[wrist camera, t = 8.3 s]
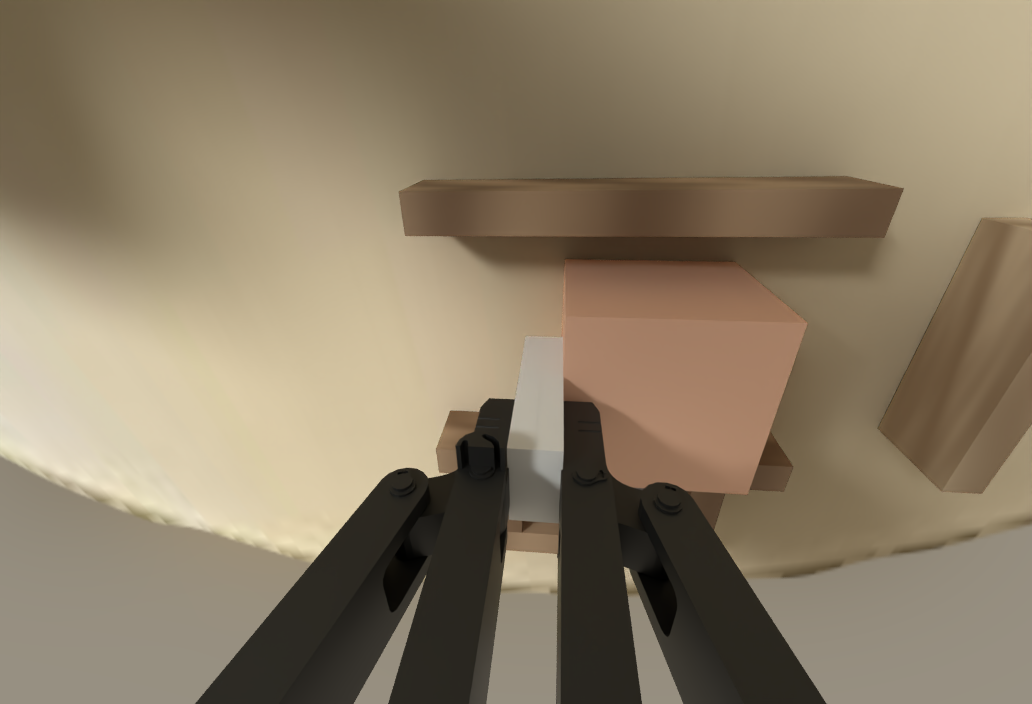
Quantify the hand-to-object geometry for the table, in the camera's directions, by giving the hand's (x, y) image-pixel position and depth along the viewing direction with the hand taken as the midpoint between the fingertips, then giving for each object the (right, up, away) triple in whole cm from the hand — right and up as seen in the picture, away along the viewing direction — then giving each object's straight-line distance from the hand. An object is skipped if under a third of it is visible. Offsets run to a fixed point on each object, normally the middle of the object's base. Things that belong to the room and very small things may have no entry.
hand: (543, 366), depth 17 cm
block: (+4, +1, +2) cm, 5 cm away
